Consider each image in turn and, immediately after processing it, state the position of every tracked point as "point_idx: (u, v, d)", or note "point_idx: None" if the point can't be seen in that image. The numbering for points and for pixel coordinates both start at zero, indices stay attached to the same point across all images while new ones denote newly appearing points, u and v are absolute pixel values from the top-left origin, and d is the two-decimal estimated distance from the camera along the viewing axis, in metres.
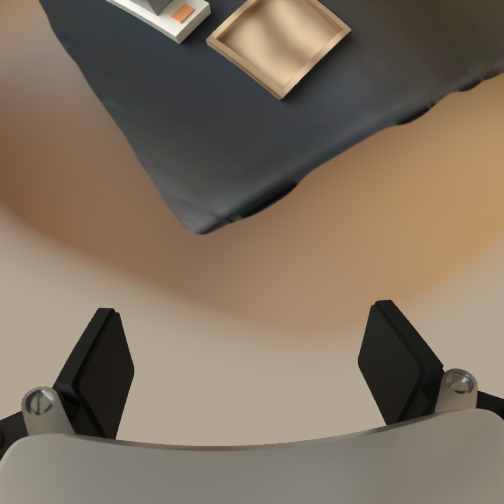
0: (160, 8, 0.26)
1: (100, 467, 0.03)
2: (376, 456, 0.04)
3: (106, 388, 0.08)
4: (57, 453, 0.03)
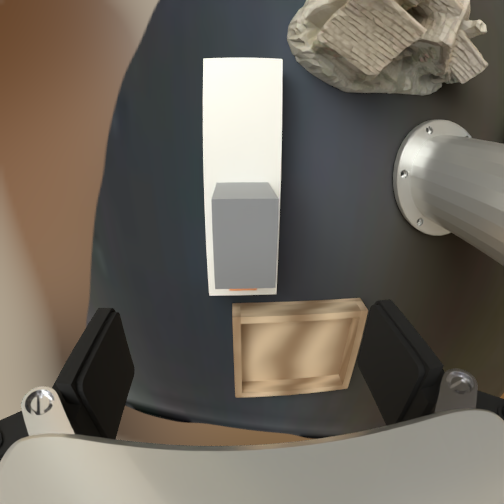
0: None
1: (100, 467, 0.03)
2: (376, 456, 0.04)
3: (106, 388, 0.08)
4: (58, 454, 0.03)
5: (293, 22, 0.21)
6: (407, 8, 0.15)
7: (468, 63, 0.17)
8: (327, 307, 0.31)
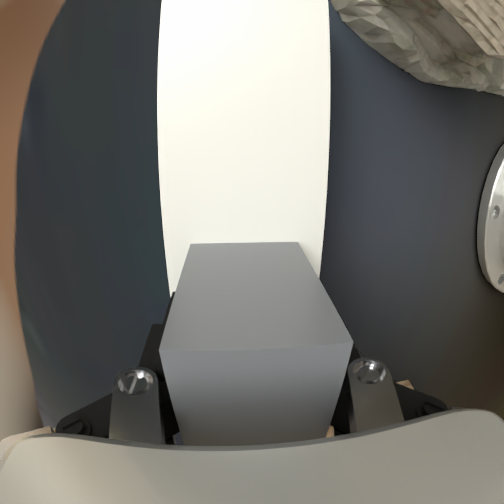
0: None
1: (100, 467, 0.03)
2: (376, 456, 0.04)
3: None
4: (58, 454, 0.03)
5: None
6: None
7: None
8: None
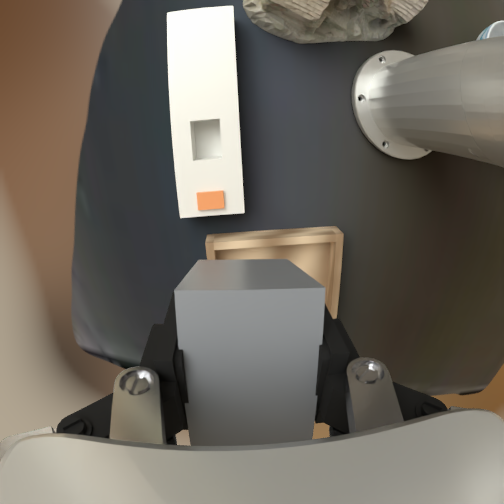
0: None
1: (100, 467, 0.03)
2: (376, 456, 0.04)
3: None
4: (58, 454, 0.03)
5: None
6: None
7: (409, 2, 0.18)
8: (301, 233, 0.31)
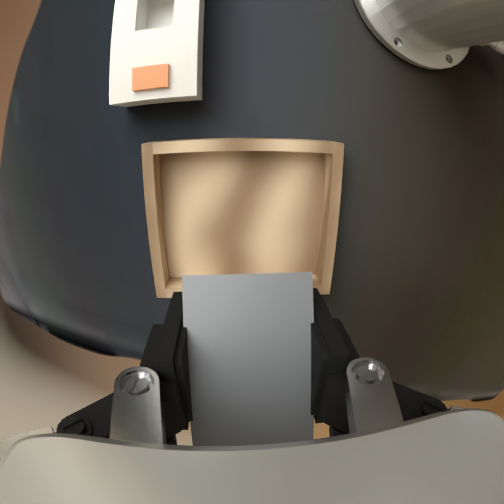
0: None
1: (100, 467, 0.03)
2: (376, 456, 0.04)
3: None
4: (57, 454, 0.03)
5: None
6: None
7: None
8: None
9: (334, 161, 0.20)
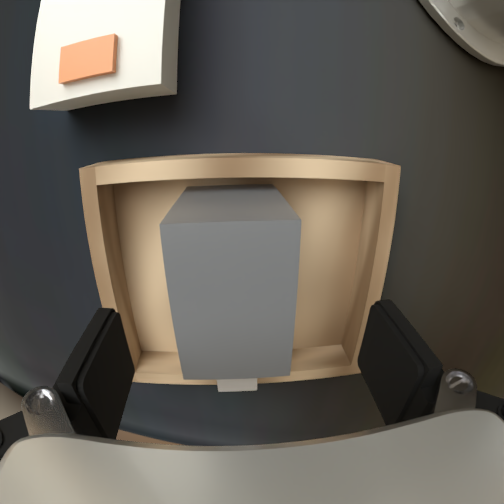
0: (205, 361, 0.10)
1: (100, 467, 0.03)
2: (376, 456, 0.04)
3: (107, 388, 0.08)
4: (57, 454, 0.03)
5: None
6: None
7: None
8: (305, 156, 0.13)
9: (385, 194, 0.13)
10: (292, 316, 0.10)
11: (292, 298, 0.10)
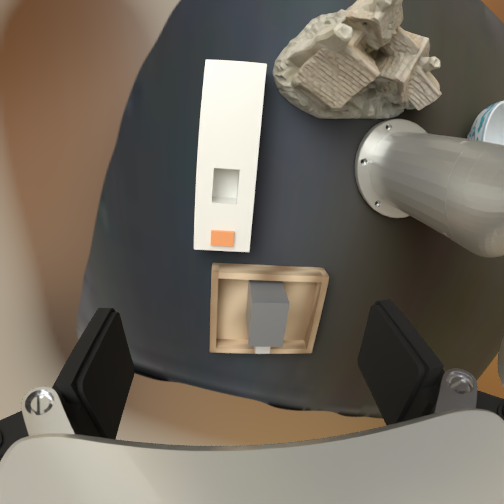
0: (257, 340, 0.34)
1: (100, 467, 0.03)
2: (376, 456, 0.04)
3: (106, 388, 0.08)
4: (57, 454, 0.03)
5: (278, 60, 0.28)
6: (370, 50, 0.23)
7: (424, 93, 0.25)
8: (293, 271, 0.37)
9: (322, 286, 0.37)
10: (284, 327, 0.34)
11: (285, 322, 0.34)
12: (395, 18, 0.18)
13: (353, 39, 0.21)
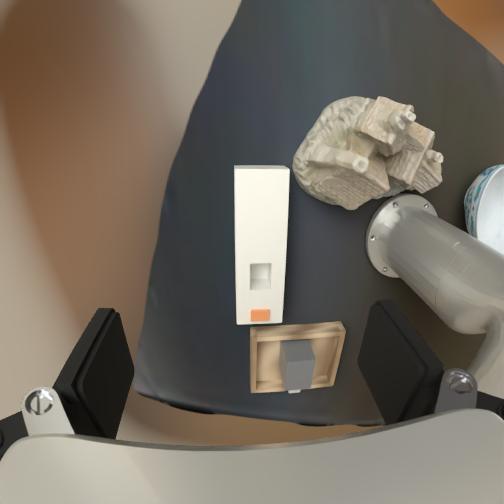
0: (290, 386, 0.41)
1: (100, 467, 0.03)
2: (376, 456, 0.04)
3: (106, 388, 0.08)
4: (57, 453, 0.03)
5: (297, 158, 0.35)
6: (381, 154, 0.29)
7: (427, 181, 0.31)
8: (317, 329, 0.44)
9: (340, 338, 0.44)
10: (312, 375, 0.41)
11: (312, 372, 0.40)
12: (406, 128, 0.25)
13: (367, 152, 0.28)
